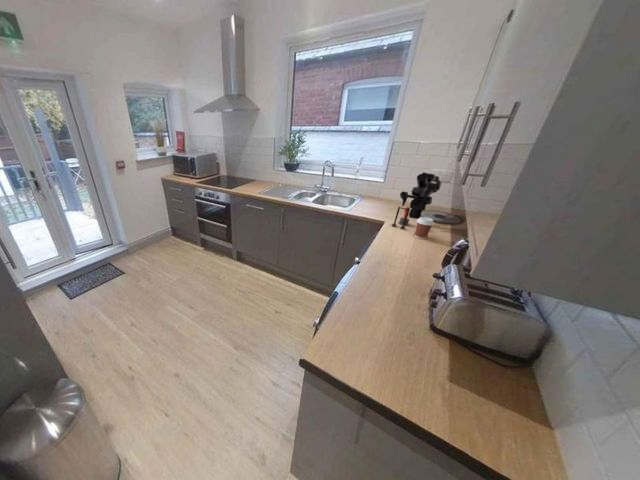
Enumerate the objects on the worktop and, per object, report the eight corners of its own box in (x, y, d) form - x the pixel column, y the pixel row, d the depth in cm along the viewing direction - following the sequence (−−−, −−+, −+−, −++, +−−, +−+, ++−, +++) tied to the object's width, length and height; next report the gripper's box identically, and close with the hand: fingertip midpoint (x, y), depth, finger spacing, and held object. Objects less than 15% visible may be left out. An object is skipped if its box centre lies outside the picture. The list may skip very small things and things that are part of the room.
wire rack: (393, 225, 176) (398, 206, 170) (404, 228, 171) (410, 209, 164) (391, 225, 175) (397, 206, 168) (403, 229, 170) (409, 209, 163)
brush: (400, 221, 181) (405, 205, 175) (408, 223, 177) (414, 207, 172) (397, 224, 177) (401, 207, 172) (405, 226, 174) (410, 209, 168)
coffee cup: (419, 232, 165) (425, 215, 159) (432, 238, 157) (439, 220, 152) (408, 234, 162) (414, 217, 157) (421, 240, 155) (427, 222, 149)
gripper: (404, 179, 176) (394, 198, 175) (436, 185, 163) (424, 205, 162) (406, 188, 184) (395, 206, 183) (436, 194, 171) (425, 213, 170)
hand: (409, 207), depth 174 cm, fingers open, 9 cm apart
